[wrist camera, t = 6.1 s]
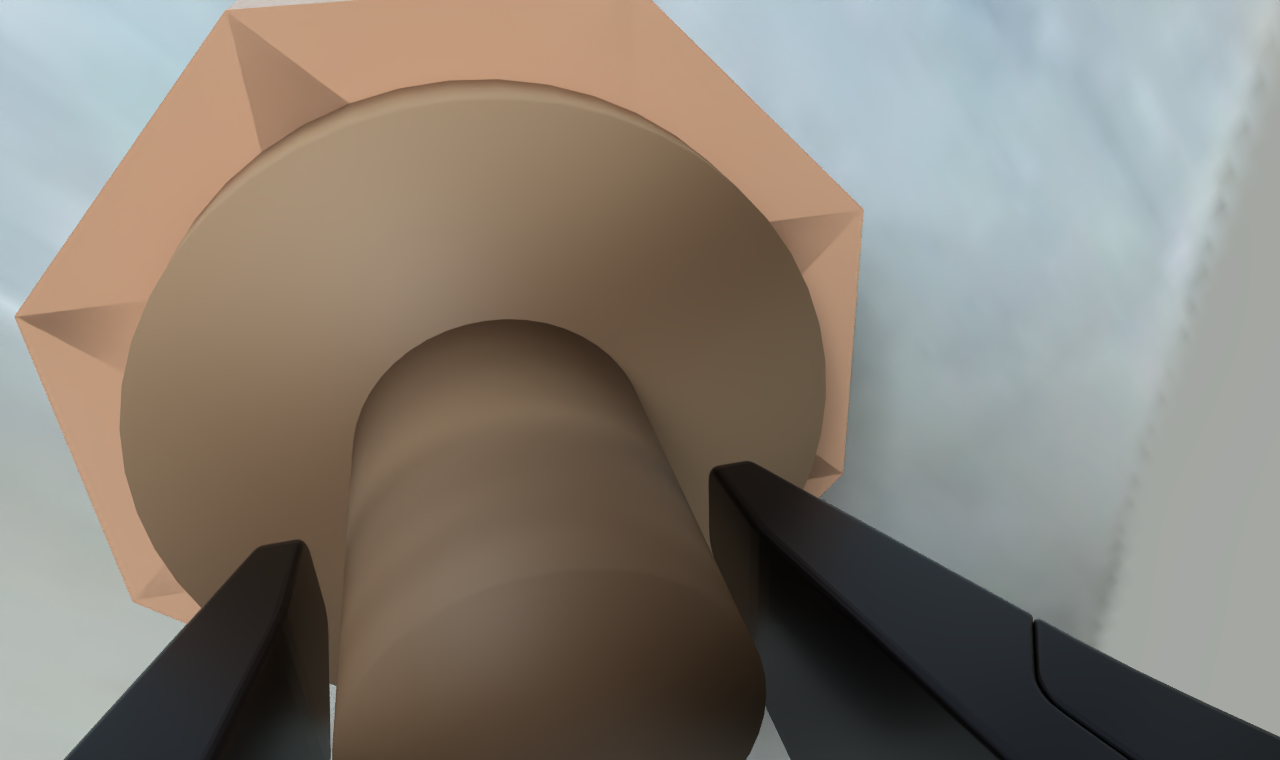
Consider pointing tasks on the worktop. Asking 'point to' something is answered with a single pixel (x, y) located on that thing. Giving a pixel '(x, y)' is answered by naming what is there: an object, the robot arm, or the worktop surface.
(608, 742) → the lid
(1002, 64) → the worktop surface
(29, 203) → the worktop surface
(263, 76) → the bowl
